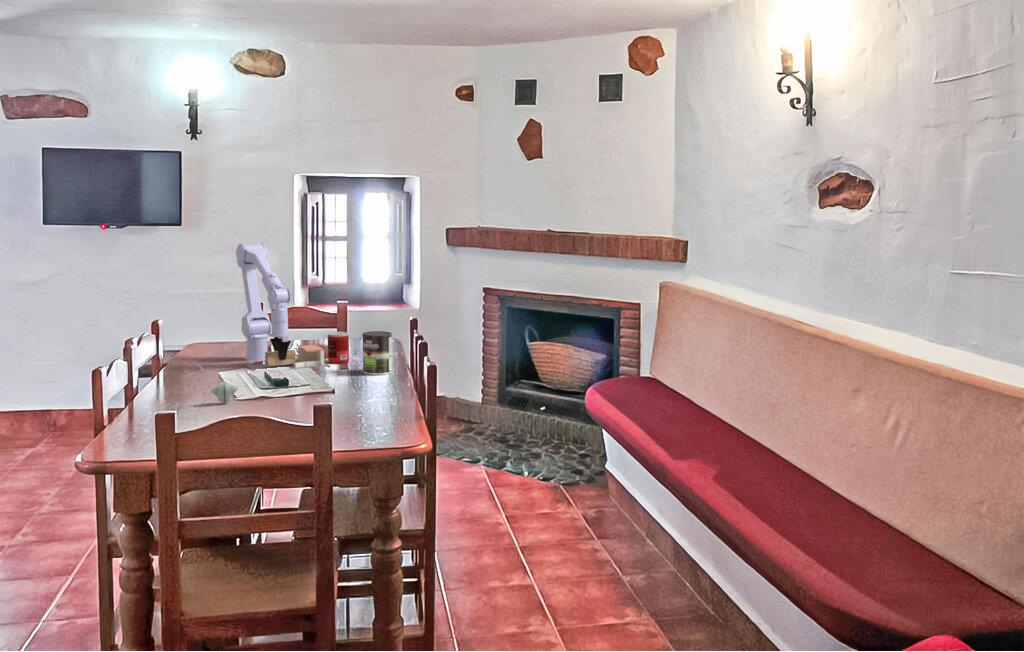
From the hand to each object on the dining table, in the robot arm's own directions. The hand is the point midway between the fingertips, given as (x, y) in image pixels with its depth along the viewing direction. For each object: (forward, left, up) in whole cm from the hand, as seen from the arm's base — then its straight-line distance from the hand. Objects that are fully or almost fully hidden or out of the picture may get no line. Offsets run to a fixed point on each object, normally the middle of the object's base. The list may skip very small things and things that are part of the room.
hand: (280, 358), depth 335 cm
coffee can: (+24, +28, -4) cm, 37 cm away
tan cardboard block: (0, 0, -2) cm, 2 cm away
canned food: (-1, +22, -4) cm, 22 cm away
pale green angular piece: (+48, -30, -4) cm, 57 cm away
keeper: (0, +2, -3) cm, 4 cm away
